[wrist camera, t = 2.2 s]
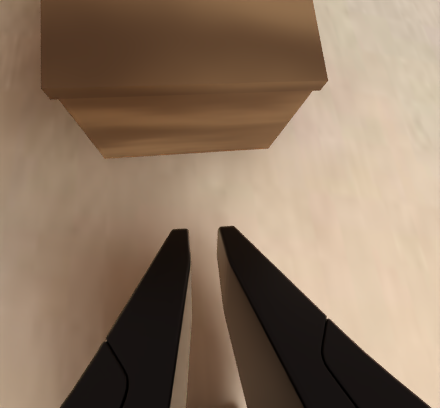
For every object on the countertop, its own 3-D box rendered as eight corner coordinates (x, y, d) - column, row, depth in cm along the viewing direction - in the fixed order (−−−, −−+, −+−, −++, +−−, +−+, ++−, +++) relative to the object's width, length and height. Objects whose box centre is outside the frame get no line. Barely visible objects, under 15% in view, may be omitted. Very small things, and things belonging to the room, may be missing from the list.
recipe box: (270, 151, 22) (328, 80, 13) (102, 162, 21) (41, 88, 12) (243, -28, 25) (276, -184, 16) (94, -32, 23) (39, -210, 14)
